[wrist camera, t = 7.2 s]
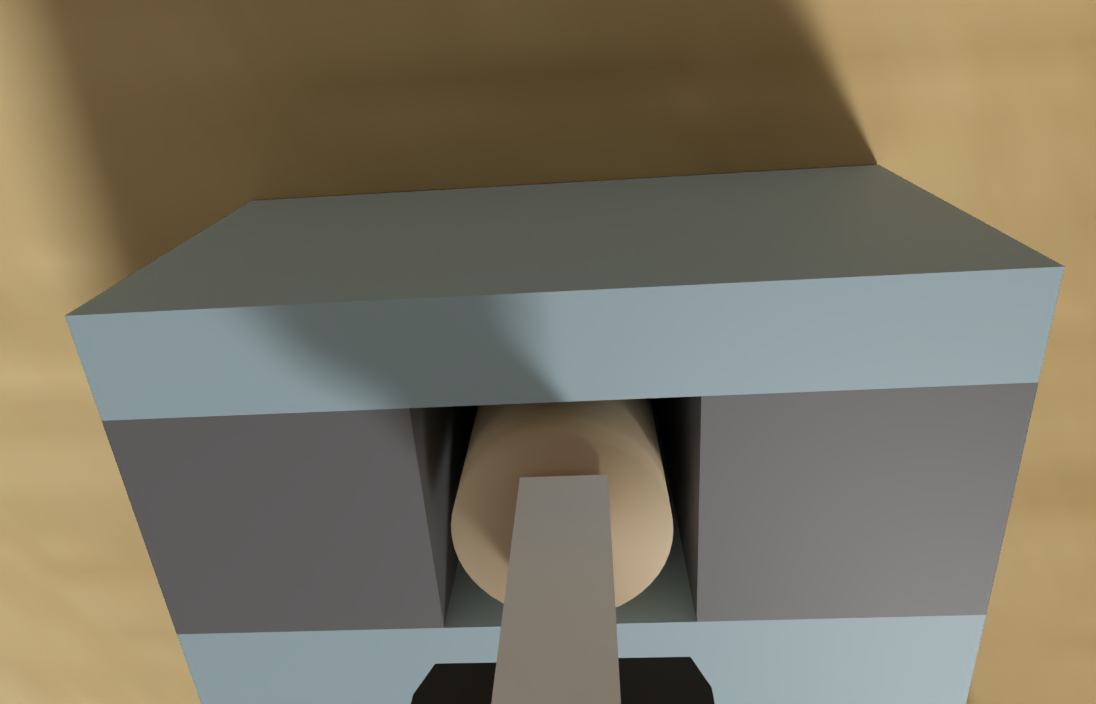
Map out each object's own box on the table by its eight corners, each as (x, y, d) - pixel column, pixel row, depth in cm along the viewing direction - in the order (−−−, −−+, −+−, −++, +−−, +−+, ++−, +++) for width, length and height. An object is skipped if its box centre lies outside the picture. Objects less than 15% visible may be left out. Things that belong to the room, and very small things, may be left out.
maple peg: (499, 424, 22) (463, 620, 15) (485, 290, 20) (437, 442, 13) (642, 418, 21) (673, 615, 15) (639, 283, 20) (673, 433, 13)
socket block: (373, 737, 28) (302, 992, 21) (250, 200, 20) (64, 315, 13) (814, 730, 27) (900, 994, 20) (878, 164, 19) (1064, 266, 12)
